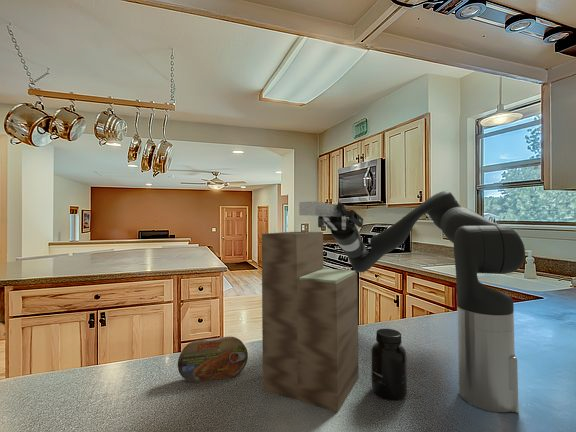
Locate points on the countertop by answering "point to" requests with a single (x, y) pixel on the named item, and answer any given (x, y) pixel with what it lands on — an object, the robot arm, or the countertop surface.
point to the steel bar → (318, 209)
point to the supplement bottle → (389, 365)
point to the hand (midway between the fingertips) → (330, 205)
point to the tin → (212, 359)
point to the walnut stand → (307, 322)
